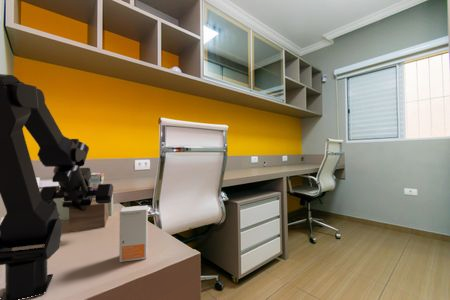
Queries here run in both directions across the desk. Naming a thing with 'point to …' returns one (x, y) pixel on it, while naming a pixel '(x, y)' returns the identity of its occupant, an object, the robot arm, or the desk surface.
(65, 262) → the desk surface
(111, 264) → the desk surface
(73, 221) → the walnut block
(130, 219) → the skincare box
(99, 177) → the candy bar box
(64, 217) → the sage board
